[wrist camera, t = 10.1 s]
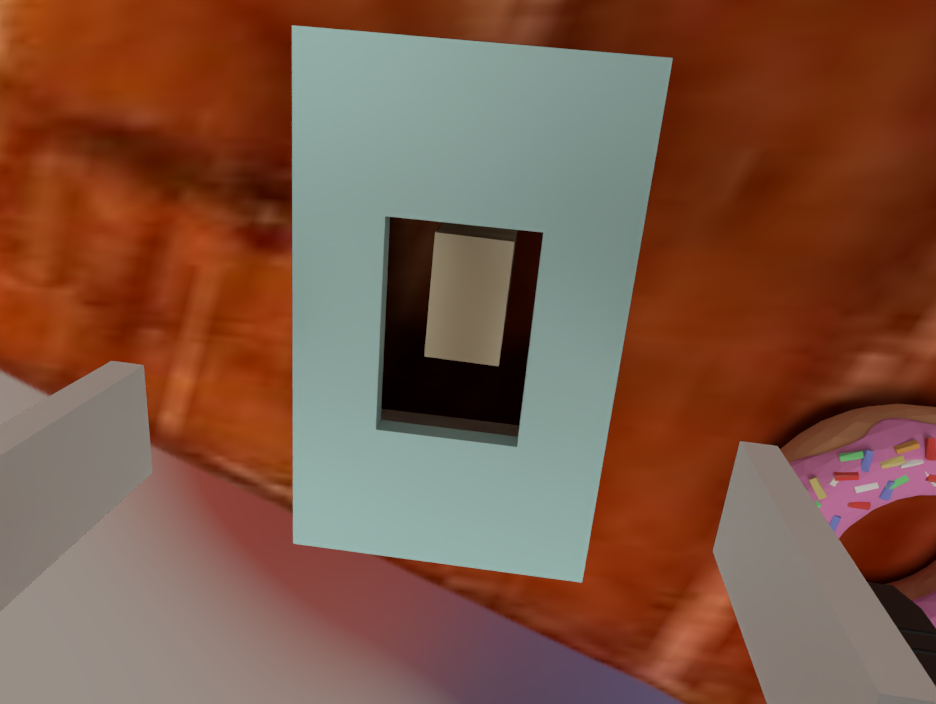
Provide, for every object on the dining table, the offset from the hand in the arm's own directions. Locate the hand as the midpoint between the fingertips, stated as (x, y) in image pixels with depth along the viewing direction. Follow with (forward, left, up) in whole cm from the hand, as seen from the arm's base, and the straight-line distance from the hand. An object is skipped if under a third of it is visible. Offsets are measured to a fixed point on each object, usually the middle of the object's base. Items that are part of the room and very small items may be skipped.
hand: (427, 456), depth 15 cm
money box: (0, 0, -19) cm, 19 cm away
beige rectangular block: (0, 0, -19) cm, 19 cm away
